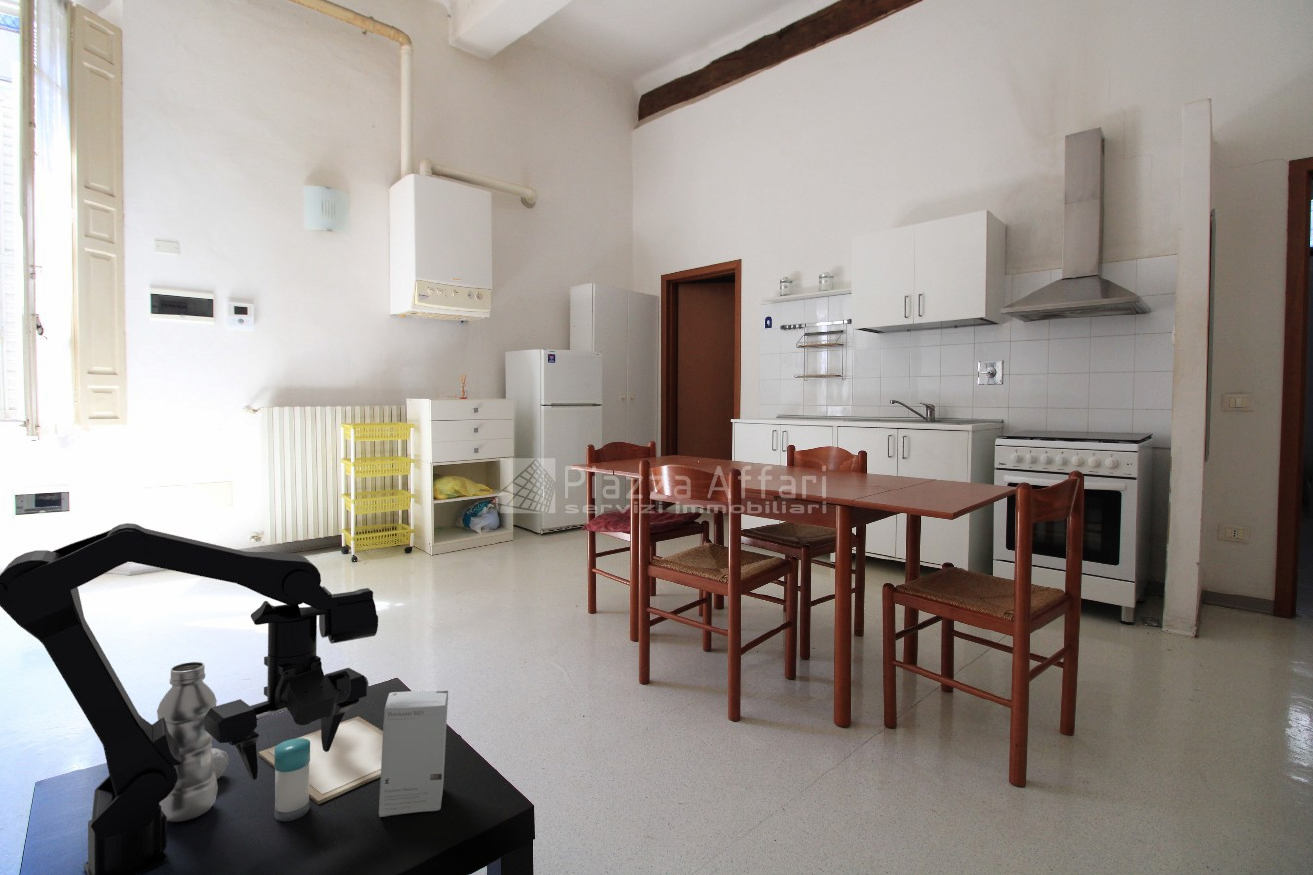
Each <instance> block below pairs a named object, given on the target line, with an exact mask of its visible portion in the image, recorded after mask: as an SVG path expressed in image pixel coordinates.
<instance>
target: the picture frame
mask: <svg viewBox="0 0 1313 875" xmlns="http://www.w3.org/2000/svg"><path fill="white" fill-rule="evenodd" d="M298 738H304V739H308V740H309V741H310V762H309V799H311V800H312V801H313V802H315V803H316V804H317V805H321V804H323V803H325V802H327V801H329V800H332V799H334V798H336V797H338V796H340V795H342V794H345V793H347V792H350V791H351V790H354V789H356V788H358V787H360V786H363V785H366V784H367V783H369V782H371V781H374V780H376V779H379V778H381V762H382V743H383V729H382V730H381V729H380V728H379V727H377V726H375V725H373V724H372V723H370V722H368V721H367V720H365V719H363V718H362V717H360V716H356V717H352V718H350V719H346V720H344V721H341V722H340V724H339V727H338V729H337V732H336V734H335V737H334V740H333V742H332V745H331V747H330V750H329V751H328V752H325V751H324V750H323V747H322V740H321V729H319V730H317V731H314V732H310V733H308V734H305V735H302V736H299V737H298ZM276 746H277V745H275V746H271V747H269V748H267V749H264V750H261V751H258V756H259V757H260V758H261V759H263V760H264V761H265V762H266V763H267V764H268V765H270V766H271V767H272V768H274V758H275V747H276Z"/></svg>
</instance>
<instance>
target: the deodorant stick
mask: <svg viewBox="0 0 1313 875" xmlns="http://www.w3.org/2000/svg"><path fill="white" fill-rule="evenodd" d="M275 746H276V747H275V758H274V767H273V768H274V771H275V773H274V776H275V777H274V780H275V781H274V782H275V783H274V786H275V787H274V792H275V793H274V803H275V804H274V819H275V820H276V821H278V822H292V821H295V820H297V819H300V818H302V817H304V816H305V815H306V814H307V813H308V812H309V810H310V797H309V762H310V741H309V740H308V739H304V738H299V737H297V738H292V739H288V740H284V741H282V742H280V743H278V744H277V745H275Z"/></svg>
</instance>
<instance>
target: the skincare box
mask: <svg viewBox="0 0 1313 875" xmlns="http://www.w3.org/2000/svg"><path fill="white" fill-rule="evenodd" d="M448 700H449V690H448V689H439V690H438V689H437V690H425V689H424V690H423V689H421V690H418V689H417V690H411V691H409V690H408V691H394V692H389V693H388V696H387V699H386V703H385V705H384V712H383V723H382V724H383V725H382V726H383V728H382V731H383V743H382V762H381V777H380V781H379V782H380V783H379V796H378V797H379V798H378V799H379V803H378V815H379V818H381V817H382V818H383V817H391V816H398V815H405V814H413V813H423V812H436V811H440V810H441V808H442V800H443V799H442V798H443V792H444V790H443V789H444V779H445V777H444V776H445V762H446V761H445V760H446V744H447V743H446V742H447V740H446V739H447V720H448V704H449V703H448Z"/></svg>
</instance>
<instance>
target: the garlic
mask: <svg viewBox="0 0 1313 875" xmlns="http://www.w3.org/2000/svg"><path fill="white" fill-rule="evenodd" d="M212 757H213V766H214V772H215V776H216V780H217V781H218V779H219V778H220V777H221V776H223V775H224V773H225V771H226V769H227V767H228V765H229V756H228V753H227V752H226V751H224V750H222V749H220V748H216V747H215V748H213V747H212Z"/></svg>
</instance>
